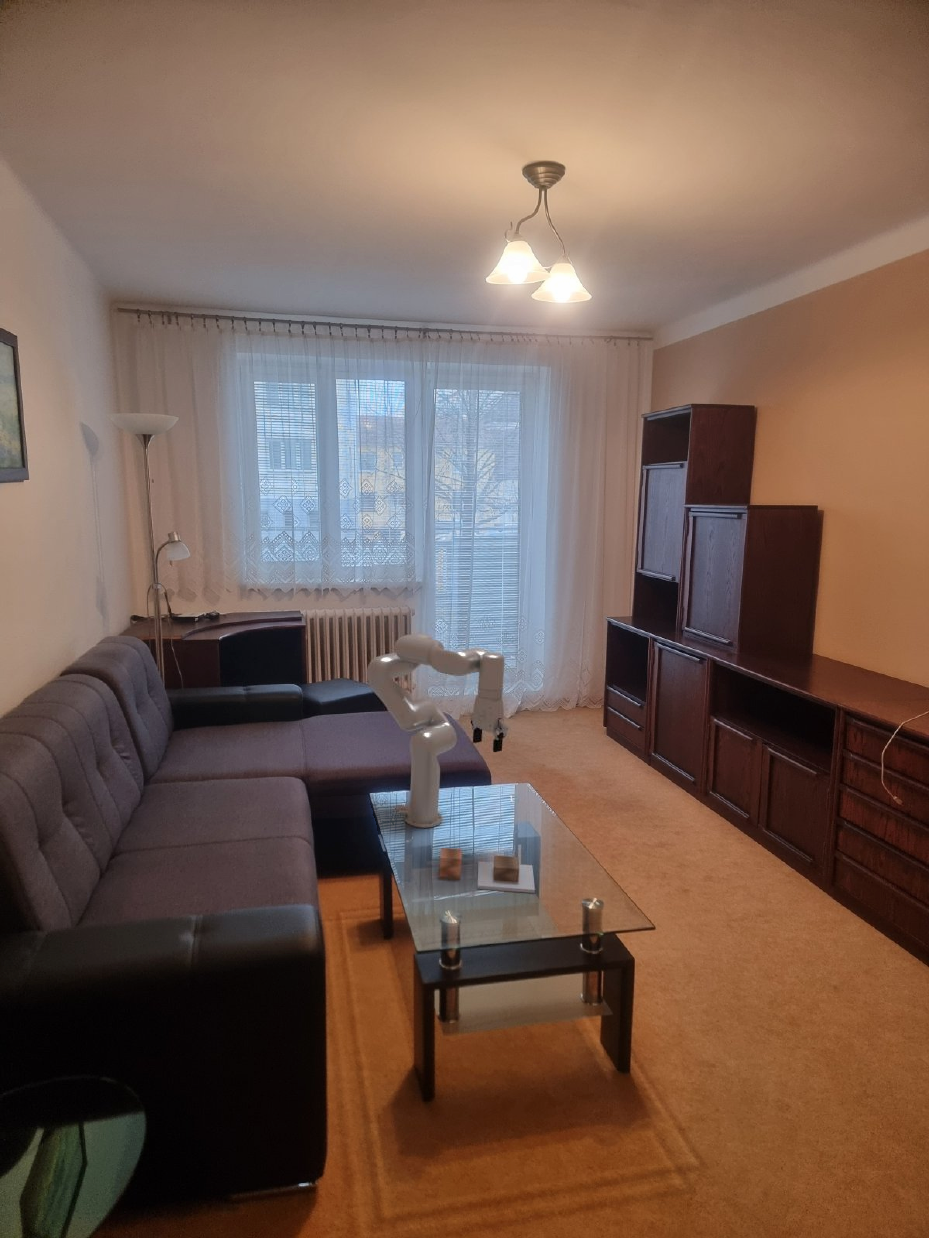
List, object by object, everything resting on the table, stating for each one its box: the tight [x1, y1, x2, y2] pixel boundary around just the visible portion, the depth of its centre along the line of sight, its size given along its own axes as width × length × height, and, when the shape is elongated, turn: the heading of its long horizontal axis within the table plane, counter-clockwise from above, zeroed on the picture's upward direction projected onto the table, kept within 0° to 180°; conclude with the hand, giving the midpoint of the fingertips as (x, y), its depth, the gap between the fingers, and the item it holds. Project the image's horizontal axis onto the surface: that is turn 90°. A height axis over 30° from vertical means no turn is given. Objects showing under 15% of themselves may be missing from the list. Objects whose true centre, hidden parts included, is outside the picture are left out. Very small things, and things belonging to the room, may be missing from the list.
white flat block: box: [476, 855, 536, 894], centre depth 219 cm, size 16×14×5 cm
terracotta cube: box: [438, 847, 463, 880], centre depth 220 cm, size 6×6×6 cm
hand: (487, 746), depth 236 cm, fingers open, 9 cm apart
